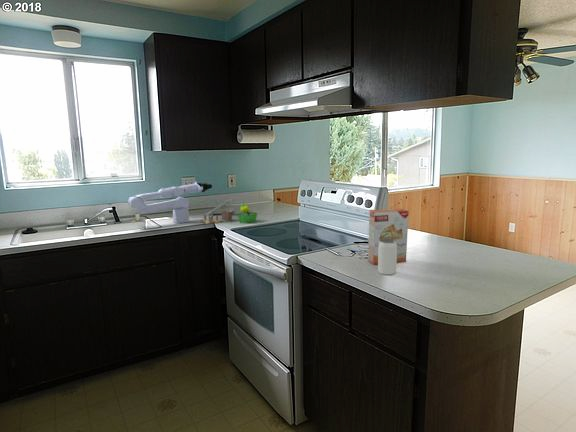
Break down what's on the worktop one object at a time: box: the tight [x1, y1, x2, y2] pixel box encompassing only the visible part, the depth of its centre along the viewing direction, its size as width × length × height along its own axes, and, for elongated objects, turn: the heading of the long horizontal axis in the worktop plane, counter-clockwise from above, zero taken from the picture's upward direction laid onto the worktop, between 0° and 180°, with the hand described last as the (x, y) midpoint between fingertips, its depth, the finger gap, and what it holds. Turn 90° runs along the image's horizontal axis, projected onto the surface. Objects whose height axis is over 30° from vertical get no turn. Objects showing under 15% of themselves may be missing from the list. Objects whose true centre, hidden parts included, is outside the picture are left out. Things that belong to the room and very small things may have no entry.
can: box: [377, 239, 397, 276], centre depth 138 cm, size 6×6×12 cm
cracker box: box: [367, 208, 409, 265], centre depth 150 cm, size 14×6×21 cm, turn 100°
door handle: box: [205, 198, 235, 216], centre depth 271 cm, size 18×8×20 cm
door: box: [221, 209, 233, 222], centre depth 245 cm, size 2×10×6 cm, turn 33°
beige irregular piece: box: [199, 213, 223, 225], centre depth 242 cm, size 10×12×4 cm
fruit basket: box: [237, 203, 258, 224], centre depth 238 cm, size 11×9×11 cm
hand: (209, 185), depth 251 cm, fingers open, 7 cm apart
